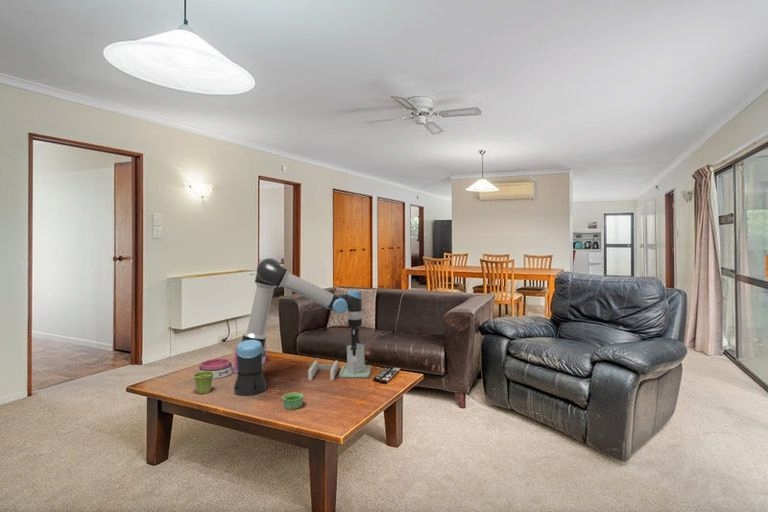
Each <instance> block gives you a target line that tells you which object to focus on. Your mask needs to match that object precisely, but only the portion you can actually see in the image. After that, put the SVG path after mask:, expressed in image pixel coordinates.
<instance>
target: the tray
mask: <svg viewBox="0 0 768 512" xmlns="http://www.w3.org/2000/svg"><path fill="white" fill-rule="evenodd" d="M371 369H372V365H371V364H368V365H367V364H365V371H363V372H359V373H356V374H351V373H349V372H347V364H344V365H342V366H341V369H340V372H339V374H338V379H370V374H371Z"/></svg>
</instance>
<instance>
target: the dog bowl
mask: <svg viewBox="0 0 768 512" xmlns="http://www.w3.org/2000/svg"><path fill="white" fill-rule="evenodd" d="M232 364H233V363H232V361H231V360H230V359H228V358H212V359H211V358H210V359H208V360H207V359H206V360H204V361H202V362H201V363H200V364H199V366H198V372H203V371H212V372H214V375H213V377H212V380H219V379H223V378H228V377H230V376H232V375H233V374H234V373H235V370H234V368H233V366H232Z"/></svg>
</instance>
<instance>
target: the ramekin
mask: <svg viewBox="0 0 768 512" xmlns="http://www.w3.org/2000/svg"><path fill="white" fill-rule="evenodd" d="M303 398H304V395H303V393H301V392H290V393H286V394H284V395H283V396H282V402H283V407H284V409H286V410H298V409H299V408H301V407H302V406H303V401H304V400H303Z"/></svg>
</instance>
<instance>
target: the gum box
mask: <svg viewBox="0 0 768 512" xmlns="http://www.w3.org/2000/svg"><path fill="white" fill-rule="evenodd" d="M266 343H267V342H266V340H265V345H264V351H263V355H262V365H264V364H266V363H267V350H266V349H267V347H266ZM236 350H237V347H236V348H234V373H235V374H237V352H236Z"/></svg>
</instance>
